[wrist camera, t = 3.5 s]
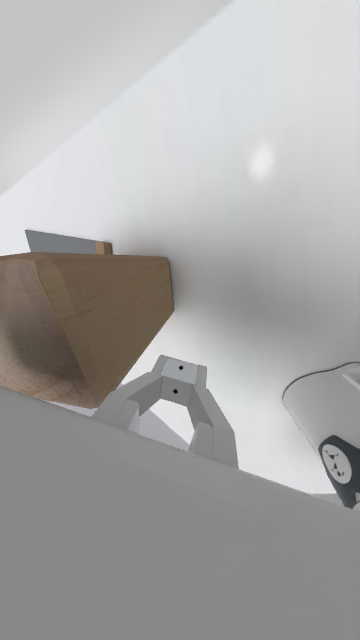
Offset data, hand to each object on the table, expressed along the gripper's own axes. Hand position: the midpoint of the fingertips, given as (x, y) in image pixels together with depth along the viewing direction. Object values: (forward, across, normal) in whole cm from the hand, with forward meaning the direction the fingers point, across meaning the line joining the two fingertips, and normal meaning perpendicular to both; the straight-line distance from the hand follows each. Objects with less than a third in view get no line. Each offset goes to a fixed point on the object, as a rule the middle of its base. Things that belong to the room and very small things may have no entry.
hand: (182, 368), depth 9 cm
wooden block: (+18, +10, 0) cm, 21 cm away
